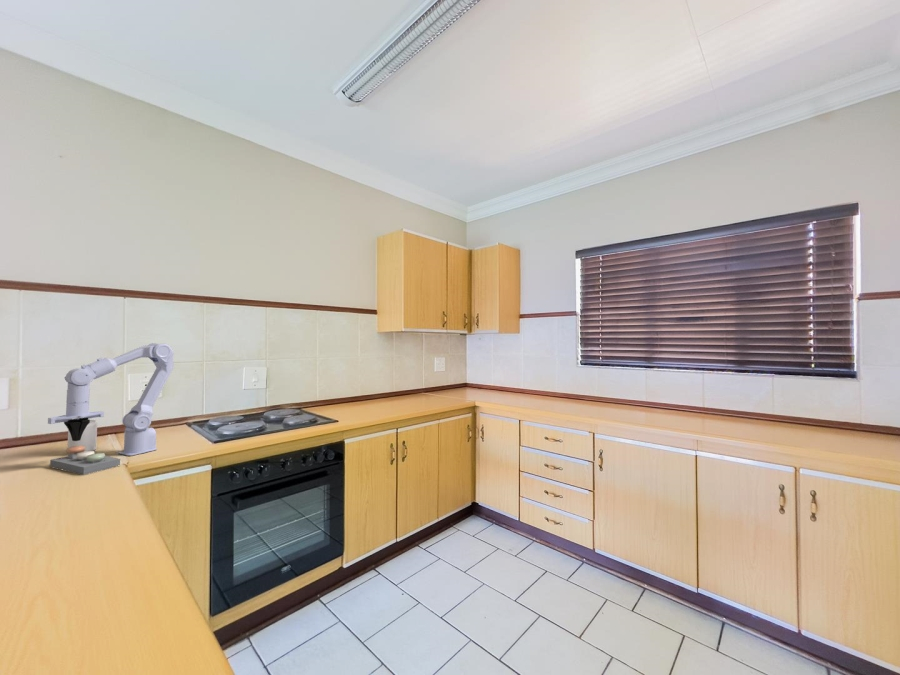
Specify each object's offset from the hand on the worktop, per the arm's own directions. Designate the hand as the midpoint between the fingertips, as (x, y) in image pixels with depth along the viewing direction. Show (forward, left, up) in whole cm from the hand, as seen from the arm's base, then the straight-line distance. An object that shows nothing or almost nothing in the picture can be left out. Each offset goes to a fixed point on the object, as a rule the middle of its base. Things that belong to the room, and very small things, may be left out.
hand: (76, 440), depth 130 cm
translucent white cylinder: (-9, -16, -9) cm, 20 cm away
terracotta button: (0, 0, -7) cm, 7 cm away
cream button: (0, +6, -8) cm, 10 cm away
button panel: (0, +6, -8) cm, 10 cm away
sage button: (0, +12, -8) cm, 14 cm away
